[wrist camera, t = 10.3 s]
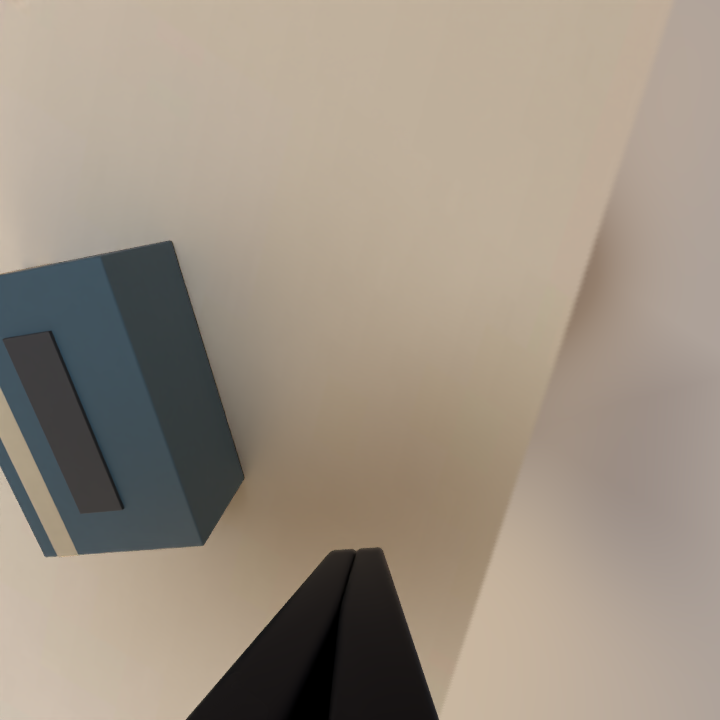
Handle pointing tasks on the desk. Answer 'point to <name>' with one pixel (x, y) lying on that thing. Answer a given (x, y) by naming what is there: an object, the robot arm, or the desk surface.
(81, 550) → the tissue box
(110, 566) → the desk surface
